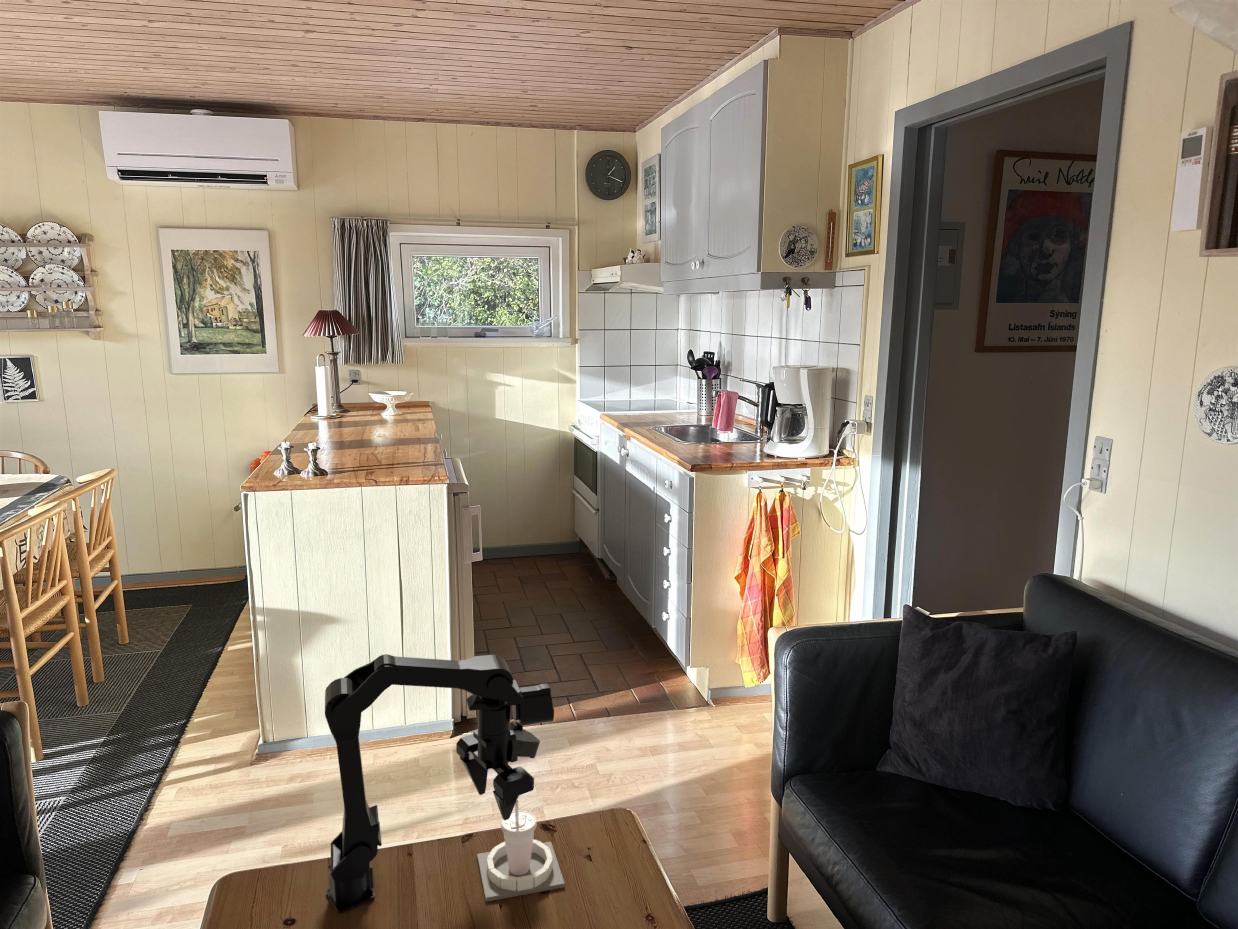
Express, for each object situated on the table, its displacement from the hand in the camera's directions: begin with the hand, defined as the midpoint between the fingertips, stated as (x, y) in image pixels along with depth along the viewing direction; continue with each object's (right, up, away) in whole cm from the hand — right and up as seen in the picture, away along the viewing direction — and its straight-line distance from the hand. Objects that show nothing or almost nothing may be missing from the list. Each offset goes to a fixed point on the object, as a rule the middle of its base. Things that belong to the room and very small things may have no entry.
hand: (493, 806), depth 155 cm
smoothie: (+4, -12, +1) cm, 13 cm away
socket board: (+5, -13, +1) cm, 14 cm away
